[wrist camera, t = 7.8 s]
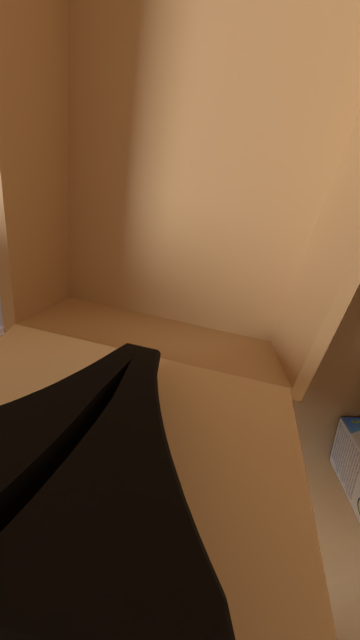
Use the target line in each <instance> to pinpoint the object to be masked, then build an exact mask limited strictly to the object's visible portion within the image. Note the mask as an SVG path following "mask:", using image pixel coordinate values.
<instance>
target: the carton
mask: <svg viewBox="0 0 360 640" xmlns="http://www.w3.org/2000/svg"><path fill="white" fill-rule="evenodd" d="M359 284H360V0H0V298H1V307H2V315H3V323H4V331H5V333H6V332H7V331H8V330H9V329H10V328H11V327H12V326H13V325H15V324H16V325H21V326H25V327H29V328H34V329H38V330H42V331H47V332H51V333H55V334H59V335H64V336H68V337H72V338H77V339H81V340H85V341H90V342H94V343H98V344H102V345H107V346H111V347H115V348H119V347H121V346H123V345H125V344H126V343H130V344H134V345H139V346H143V347H147V348H152V349H156V350H159V351H160V353H161V356H160V358H163V359H167V360H171V361H175V362H180V363H184V364H188V365H193V366H197V367H201V368H206V369H210V370H214V371H218V372H223V373H227V374H231V375H236V376H240V377H244V378H249V379H253V380H257V381H261V382H266V383H270V384H274V385H279V386H283V387H287V388H290V391H291V397H292V400H293V401H298V402H301V401H302V399H303V397H304V395H305V393H306V391H307V389H308V387H309V385H310V383H311V381H312V379H313V377H314V375H315V373H316V371H317V369H318V367H319V365H320V363H321V361H322V359H323V357H324V355H325V353H326V351H327V349H328V347H329V345H330V343H331V341H332V338H333V336H334V334H335V332H336V330H337V328H338V326H339V324H340V322H341V320H342V318H343V316H344V314H345V312H346V310H347V308H348V306H349V304H350V302H351V300H352V298H353V296H354V294H355V292H356V290H357V288H358V286H359Z"/></svg>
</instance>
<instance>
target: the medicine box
mask: <svg viewBox="0 0 360 640" xmlns="http://www.w3.org/2000/svg"><path fill="white" fill-rule="evenodd" d="M330 462H331V465H332V466H333V468H334V470H335V472H336V475H337V477H338V479H339V481H340V483H341V485H342V487H343V489H344V491H345V493H346V496H347V498H348V500H349V502H350V504H351V506H352V508H353V511H354V513H355V515H356V517H357V519H358V521H359V523H360V417H340V418H339V423H338V427H337V430H336V434H335V439H334V443H333V447H332V450H331V455H330Z"/></svg>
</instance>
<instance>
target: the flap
mask: <svg viewBox="0 0 360 640" xmlns="http://www.w3.org/2000/svg"><path fill="white" fill-rule="evenodd" d="M116 349H118V348H115V347H111V346H107V345H102V344H98V343H94V342H90V341H85V340H81V339H77V338H72V337H68V336H64V335H59V334H55V333H51V332H47V331H42V330H38V329H34V328H29V327H25V326H21V325H16V324H15V325H13V326H12V327H11V328H10V329H9V330H8V331H7V332H6V333H5V334H4V335H3V336H2V337H1V338H0V405H3V404H6V403H9V402H11V401H14V400H16V399H19V398H21V397H24V396H26V395H29V394H31V393H33V392H36V391H38V390H41V389H43V388H45V387H47V386H50V385H52V384H54V383H56V382H58V381H60V380H62V379H64V378H66V377H68V376H70V375H72V374H74V373H76V372H78V371H80V370H82V369H83V368H85V367H87V366H89V365H91V364H92V363H94V362H96V361H98V360H99V359H101V358H103V357H104V356H106V355H108V354H109V353H111V352H113V351H114V350H116ZM157 380H158V394H159V402H160V408H161V414H162V420H163V424H164V429H165V433H166V437H167V441H168V445H169V449H170V452H171V456H172V459H173V462H174V465H175V468H176V471H177V474H178V477H179V480H180V483H181V486H182V489H183V492H184V495H185V498H186V501H187V504H188V506H189V509H190V511H191V514H192V517H193V519H194V522H195V524H196V527H197V530H198V532H199V535H200V537H201V539H202V542H203V544H204V547H205V549H206V551H207V554H208V556H209V559H210V561H211V563H212V565H213V568H214V570H215V572H216V575H217V577H218V579H219V581H220V584H221V586H222V588H223V591H224V593H225V596H226V599H227V602H228V607H229V611H230V616H231V621H232V625H233V630H234V635H235V640H337V637H336V631H335V626H334V621H333V615H332V610H331V605H330V599H329V594H328V589H327V583H326V578H325V573H324V567H323V562H322V557H321V551H320V546H319V541H318V535H317V530H316V525H315V519H314V514H313V509H312V503H311V498H310V493H309V487H308V482H307V477H306V471H305V466H304V461H303V455H302V450H301V445H300V439H299V434H298V429H297V423H296V418H295V413H294V407H293V402H292V397H291V391H290V388H287V387H283V386H279V385H274V384H270V383H266V382H261V381H257V380H253V379H249V378H244V377H240V376H236V375H231V374H227V373H223V372H218V371H214V370H210V369H206V368H201V367H197V366H193V365H188V364H184V363H180V362H175V361H171V360H167V359H163V358H160V362H159V368H158V374H157Z"/></svg>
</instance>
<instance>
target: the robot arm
mask: <svg viewBox="0 0 360 640" xmlns="http://www.w3.org/2000/svg"><path fill="white" fill-rule="evenodd" d="M0 329H4V323H3V315H2V307H1V298H0ZM160 356H161V353H160V351H159V350H156V349H152V348H147V347H143V346H139V345H134V344H130V343H126V344H125V345H123V346H121V347H119V348H118V349H116V350H114V351H113V352H111V353H109V354H108V355H106V356H104V357H103V358H101V359H99V360H98V361H96V362H94V363H92V364H91V365H89V366H87V367H85V368H83V369H82V370H80V371H78V372H76V373H74V374H72V375H70V376H68V377H66V378H64V379H62V380H60V381H58V382H56V383H54V384H52V385H50V386H47V387H45V388H43V389H41V390H38V391H36V392H33V393H31V394H29V395H26V396H24V397H21V398H19V399H16V400H14V401H11V402H9V403H6V404H3V405H0V640H235V635H234V630H233V625H232V621H231V616H230V611H229V607H228V602H227V599H226V596H225V593H224V591H223V588H222V586H221V584H220V581H219V579H218V577H217V575H216V572H215V570H214V568H213V565H212V563H211V561H210V559H209V556H208V554H207V551H206V549H205V547H204V544H203V542H202V539H201V537H200V535H199V532H198V530H197V527H196V524H195V522H194V519H193V517H192V514H191V511H190V509H189V506H188V504H187V501H186V498H185V495H184V492H183V489H182V486H181V483H180V480H179V477H178V474H177V471H176V468H175V465H174V462H173V459H172V456H171V452H170V449H169V445H168V441H167V437H166V433H165V429H164V424H163V420H162V414H161V408H160V402H159V394H158V380H157V374H158V368H159V362H160Z"/></svg>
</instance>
